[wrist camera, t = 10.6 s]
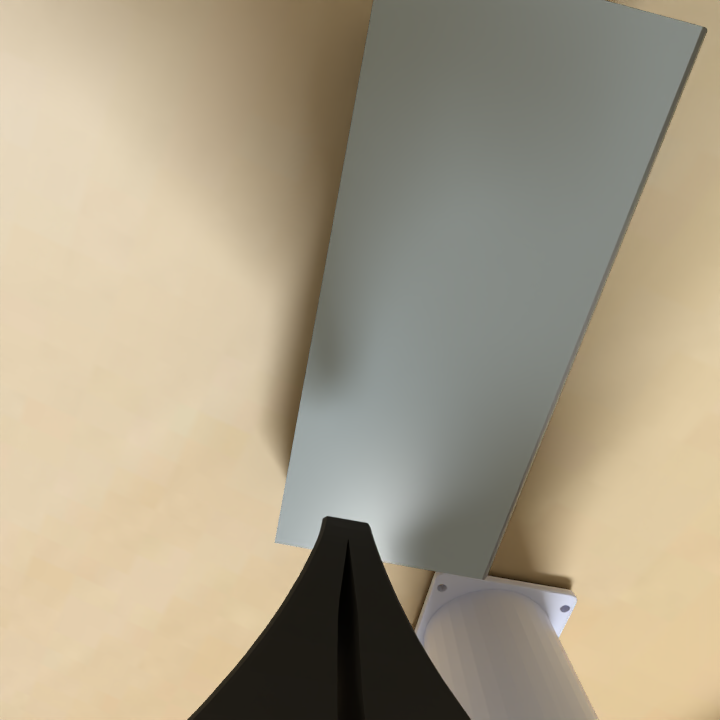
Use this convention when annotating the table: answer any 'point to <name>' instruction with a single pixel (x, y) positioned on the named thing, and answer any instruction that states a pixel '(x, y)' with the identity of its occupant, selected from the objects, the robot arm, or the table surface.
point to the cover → (470, 259)
